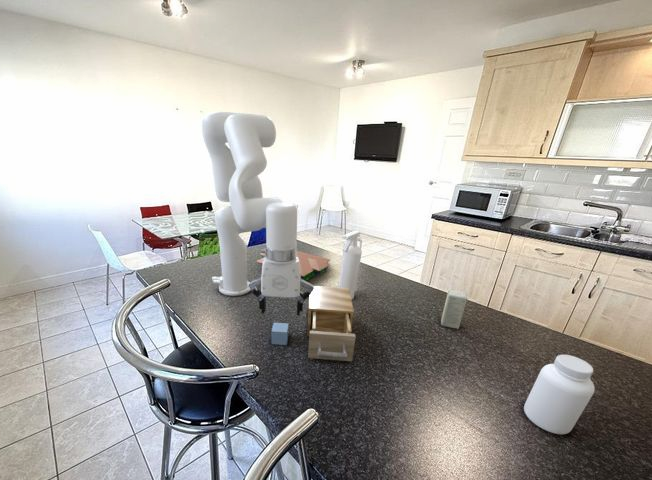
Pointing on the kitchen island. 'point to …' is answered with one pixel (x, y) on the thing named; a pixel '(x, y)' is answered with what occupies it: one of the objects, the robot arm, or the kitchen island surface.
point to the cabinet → (329, 302)
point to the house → (307, 263)
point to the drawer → (331, 337)
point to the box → (454, 309)
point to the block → (280, 333)
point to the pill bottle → (560, 394)
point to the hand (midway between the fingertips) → (281, 312)
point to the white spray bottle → (350, 262)
